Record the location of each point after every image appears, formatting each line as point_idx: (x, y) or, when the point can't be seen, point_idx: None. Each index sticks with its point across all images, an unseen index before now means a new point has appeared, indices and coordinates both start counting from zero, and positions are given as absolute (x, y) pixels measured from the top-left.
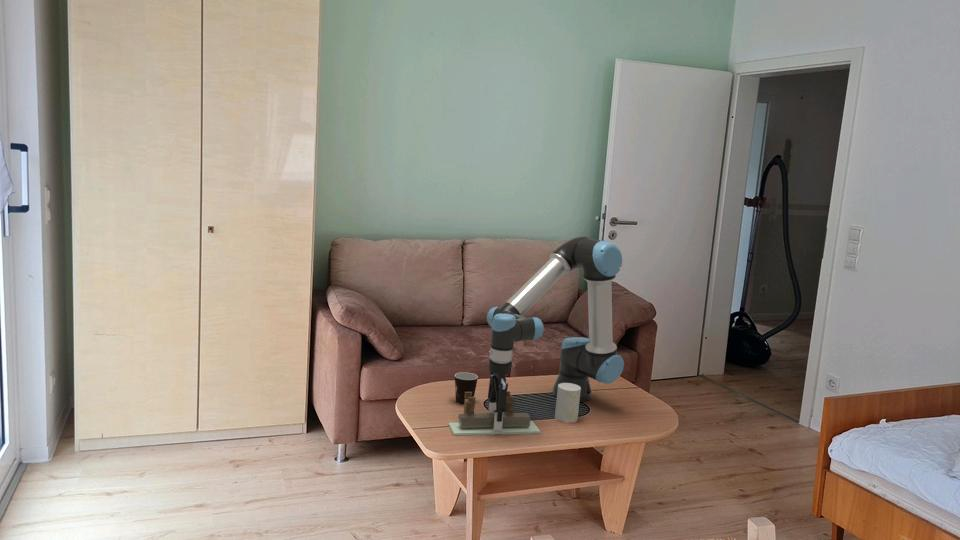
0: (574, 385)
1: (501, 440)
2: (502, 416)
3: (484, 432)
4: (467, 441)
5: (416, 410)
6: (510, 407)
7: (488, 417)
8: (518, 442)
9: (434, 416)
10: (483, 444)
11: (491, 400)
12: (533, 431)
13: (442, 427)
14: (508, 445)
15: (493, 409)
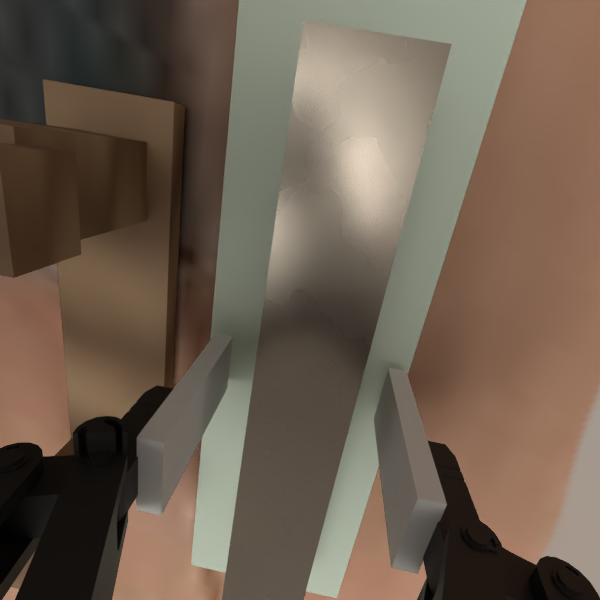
0: None
1: (497, 399)
2: (428, 458)
3: (375, 467)
4: None
5: (10, 591)
6: (84, 170)
7: (328, 504)
8: (590, 304)
9: None
10: (502, 514)
11: (121, 516)
12: (502, 74)
13: (222, 582)
14: (596, 394)
15: (193, 425)
